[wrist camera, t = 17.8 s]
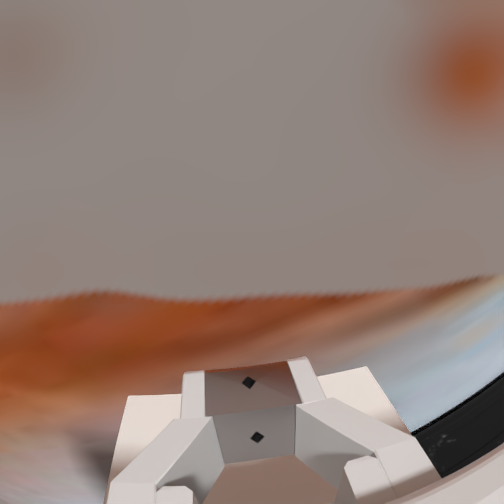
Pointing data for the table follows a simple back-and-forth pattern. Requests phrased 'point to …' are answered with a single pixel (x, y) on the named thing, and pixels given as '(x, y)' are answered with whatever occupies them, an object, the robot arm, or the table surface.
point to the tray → (262, 470)
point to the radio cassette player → (466, 432)
